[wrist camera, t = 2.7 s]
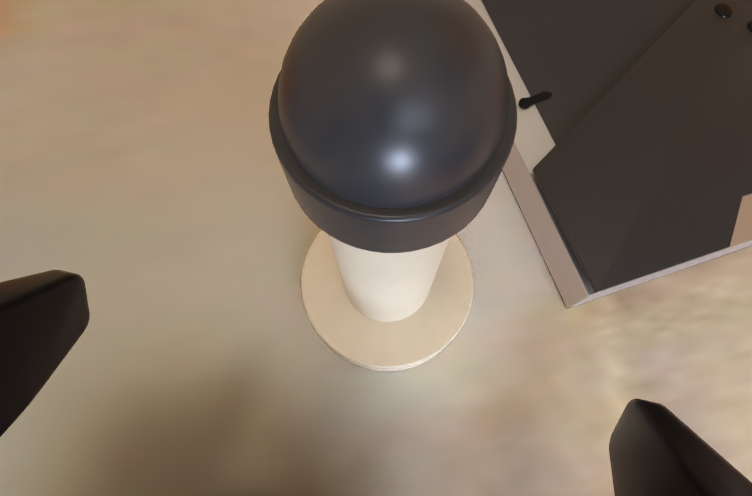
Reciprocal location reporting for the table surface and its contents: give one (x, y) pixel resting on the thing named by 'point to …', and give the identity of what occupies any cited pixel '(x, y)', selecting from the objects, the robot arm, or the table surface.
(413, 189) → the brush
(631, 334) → the table surface
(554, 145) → the picture frame
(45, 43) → the table surface
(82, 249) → the table surface
